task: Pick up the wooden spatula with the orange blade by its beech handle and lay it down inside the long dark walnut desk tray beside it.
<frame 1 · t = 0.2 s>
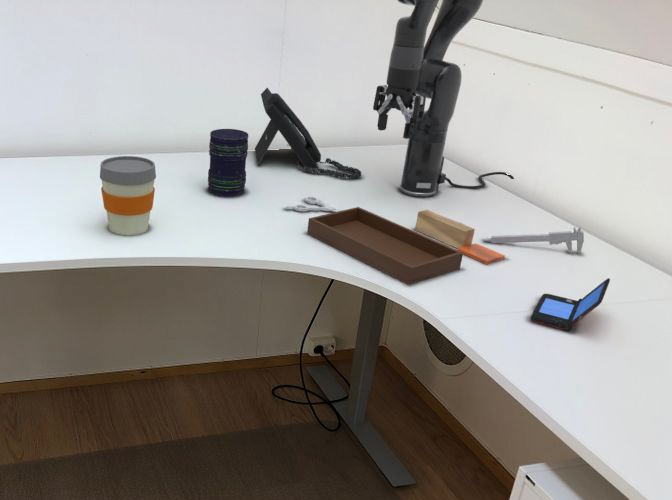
hand: (394, 133, 196), 17 cm above the table, tool pointing down, fingers open, 8 cm apart
scissors: (330, 211, 196), on the table
tray: (380, 250, 176), on the table
reusable coffee cup: (128, 228, 183), on the table
handheld console: (564, 317, 151), on the table
caliper: (531, 248, 180), on the table
spatula: (448, 241, 182), on the table
office phone: (305, 163, 231), on the table
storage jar: (226, 191, 207), on the table
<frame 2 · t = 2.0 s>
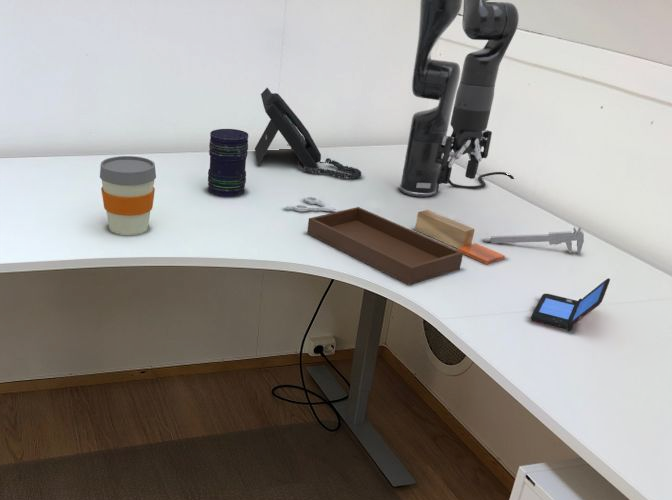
hand: (456, 180, 175), 14 cm above the table, tool pointing down, fingers open, 8 cm apart
nothing on the table moved.
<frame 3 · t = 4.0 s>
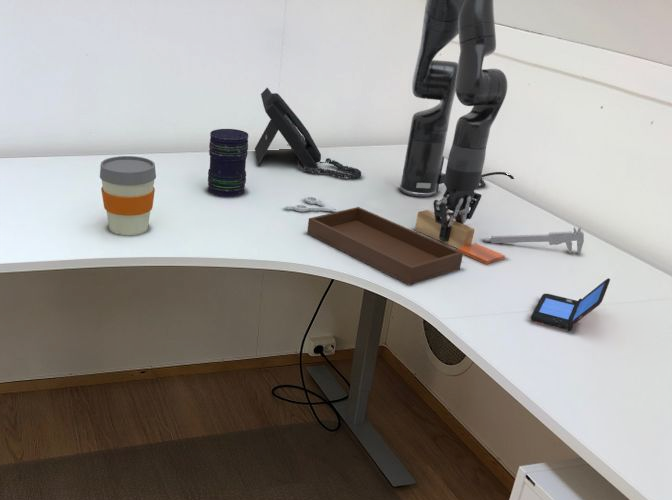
hand: (449, 238, 182), 1 cm above the table, tool pointing down, fingers closed on spatula, 3 cm apart
spatula: (448, 241, 182), on the table, touching gripper
everything else where it was.
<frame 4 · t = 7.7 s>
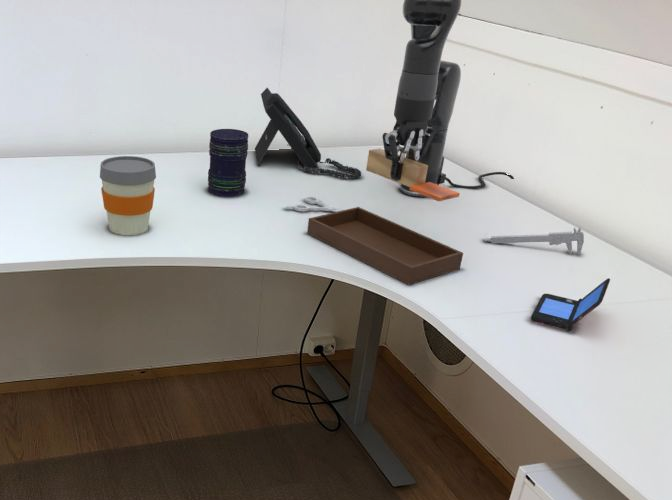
hand: (401, 177, 168), 16 cm above the table, tool pointing down, fingers closed on spatula, 3 cm apart
spatula: (401, 180, 168), point 16 cm above the table, touching gripper
everything else where it was.
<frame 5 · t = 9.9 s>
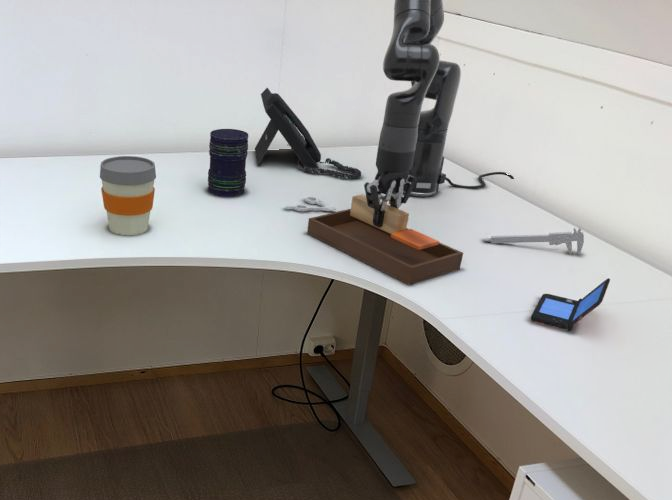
hand: (383, 224, 173), 6 cm above the table, tool pointing down, fingers closed on spatula, 3 cm apart
spatula: (383, 227, 173), point 6 cm above the table, touching gripper
everything else where it was.
when the fingers open (1 cm above the table, at t = 11.4 s): spatula stays where it is, resting on tray.
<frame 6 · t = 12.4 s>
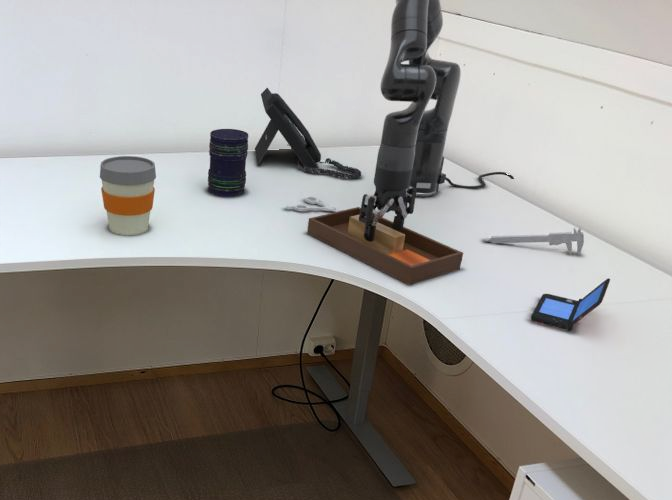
hand: (382, 236, 174), 3 cm above the table, tool pointing down, fingers open, 8 cm apart
spatula: (380, 247, 175), point 1 cm above the table, touching tray
everything else where it was.
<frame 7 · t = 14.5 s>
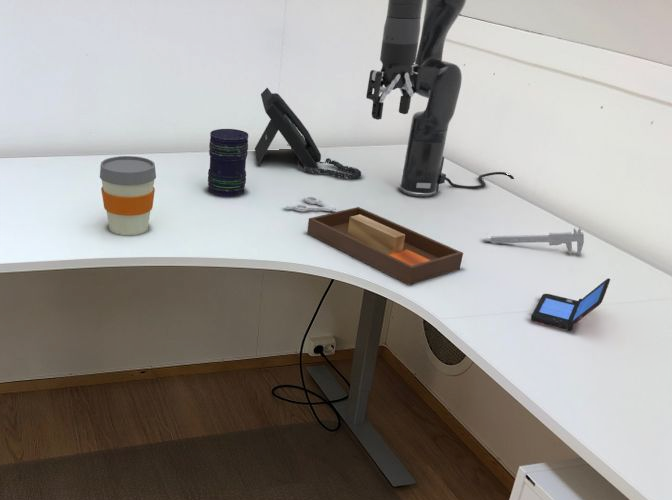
hand: (390, 116, 177), 25 cm above the table, tool pointing down, fingers open, 8 cm apart
nothing on the table moved.
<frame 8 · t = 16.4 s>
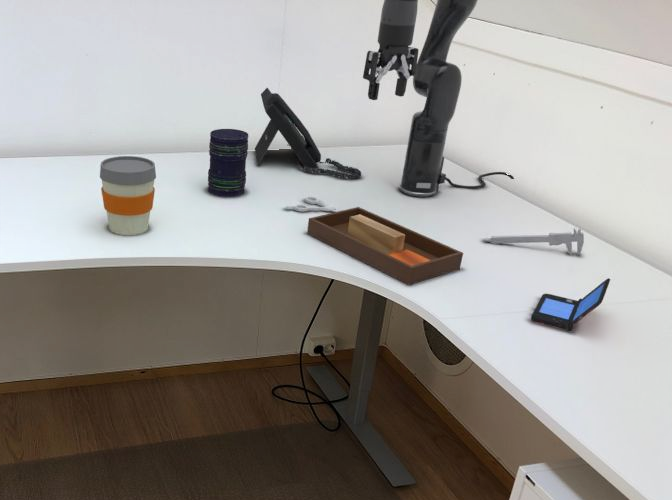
hand: (386, 97, 181), 28 cm above the table, tool pointing down, fingers open, 8 cm apart
nothing on the table moved.
at the end: spatula inside the target area in the tray (0.1 cm from its centre), point 0.8 cm above the tray's base; the gripper is holding nothing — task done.
